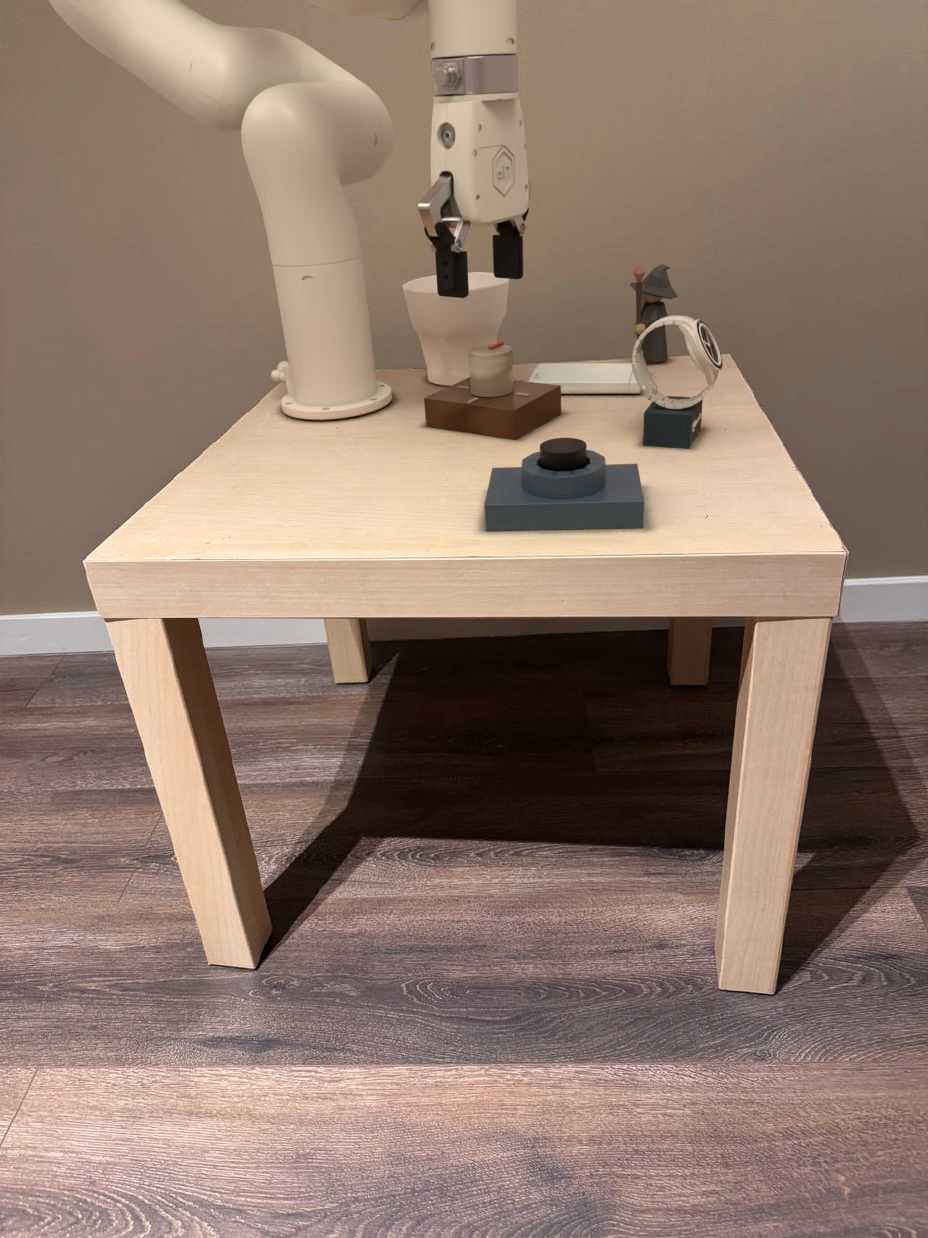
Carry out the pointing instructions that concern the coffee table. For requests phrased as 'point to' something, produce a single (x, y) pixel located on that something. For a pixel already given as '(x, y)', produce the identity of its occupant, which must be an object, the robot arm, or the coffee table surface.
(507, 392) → the knob
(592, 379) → the hard drive
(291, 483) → the coffee table surface
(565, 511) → the button box
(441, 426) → the brown wooden block
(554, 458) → the button
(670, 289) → the wizard figurine
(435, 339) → the cup
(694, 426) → the watch
